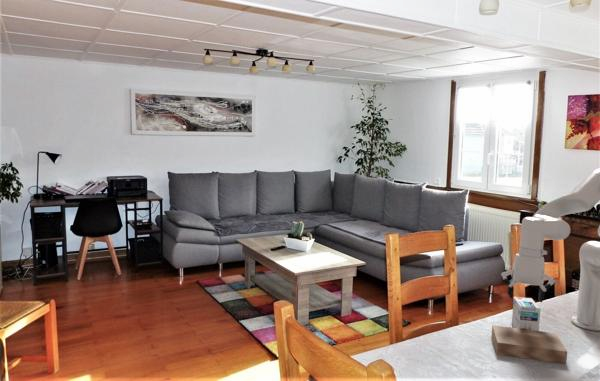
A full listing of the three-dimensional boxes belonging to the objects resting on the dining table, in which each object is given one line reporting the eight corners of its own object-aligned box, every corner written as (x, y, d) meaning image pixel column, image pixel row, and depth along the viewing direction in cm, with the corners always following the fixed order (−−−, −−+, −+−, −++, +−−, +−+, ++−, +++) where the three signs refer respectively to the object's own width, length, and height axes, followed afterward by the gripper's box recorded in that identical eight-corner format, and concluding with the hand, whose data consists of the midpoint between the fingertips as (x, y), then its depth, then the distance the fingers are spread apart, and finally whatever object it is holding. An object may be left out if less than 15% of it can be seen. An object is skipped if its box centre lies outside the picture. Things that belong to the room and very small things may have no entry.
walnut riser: (555, 344, 157) (556, 333, 157) (566, 363, 144) (567, 351, 143) (491, 336, 163) (492, 325, 162) (496, 354, 149) (497, 342, 149)
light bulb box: (538, 338, 162) (541, 308, 161) (518, 335, 163) (520, 306, 162) (530, 325, 173) (532, 297, 171) (510, 323, 174) (513, 296, 172)
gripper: (555, 252, 166) (549, 299, 168) (502, 247, 170) (497, 292, 172) (560, 257, 158) (554, 306, 160) (505, 251, 163) (500, 299, 165)
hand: (525, 299), depth 166 cm, fingers open, 9 cm apart
